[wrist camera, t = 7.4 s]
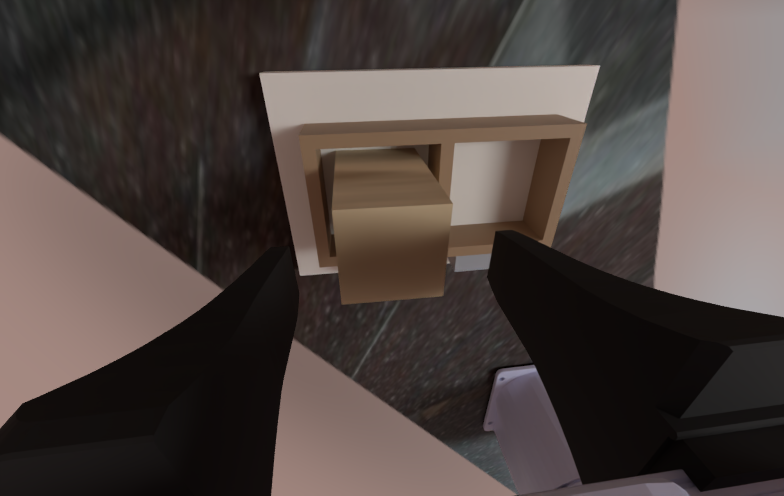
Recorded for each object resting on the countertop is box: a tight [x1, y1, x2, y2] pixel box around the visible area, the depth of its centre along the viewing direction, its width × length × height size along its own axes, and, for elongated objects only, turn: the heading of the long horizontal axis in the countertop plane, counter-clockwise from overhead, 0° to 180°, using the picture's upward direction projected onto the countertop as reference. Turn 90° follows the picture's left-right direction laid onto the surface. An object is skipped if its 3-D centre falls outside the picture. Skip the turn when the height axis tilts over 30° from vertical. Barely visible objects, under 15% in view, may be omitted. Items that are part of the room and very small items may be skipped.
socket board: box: [259, 65, 600, 276], centre depth 17 cm, size 11×16×3 cm
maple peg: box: [332, 148, 453, 305], centre depth 15 cm, size 4×4×7 cm
